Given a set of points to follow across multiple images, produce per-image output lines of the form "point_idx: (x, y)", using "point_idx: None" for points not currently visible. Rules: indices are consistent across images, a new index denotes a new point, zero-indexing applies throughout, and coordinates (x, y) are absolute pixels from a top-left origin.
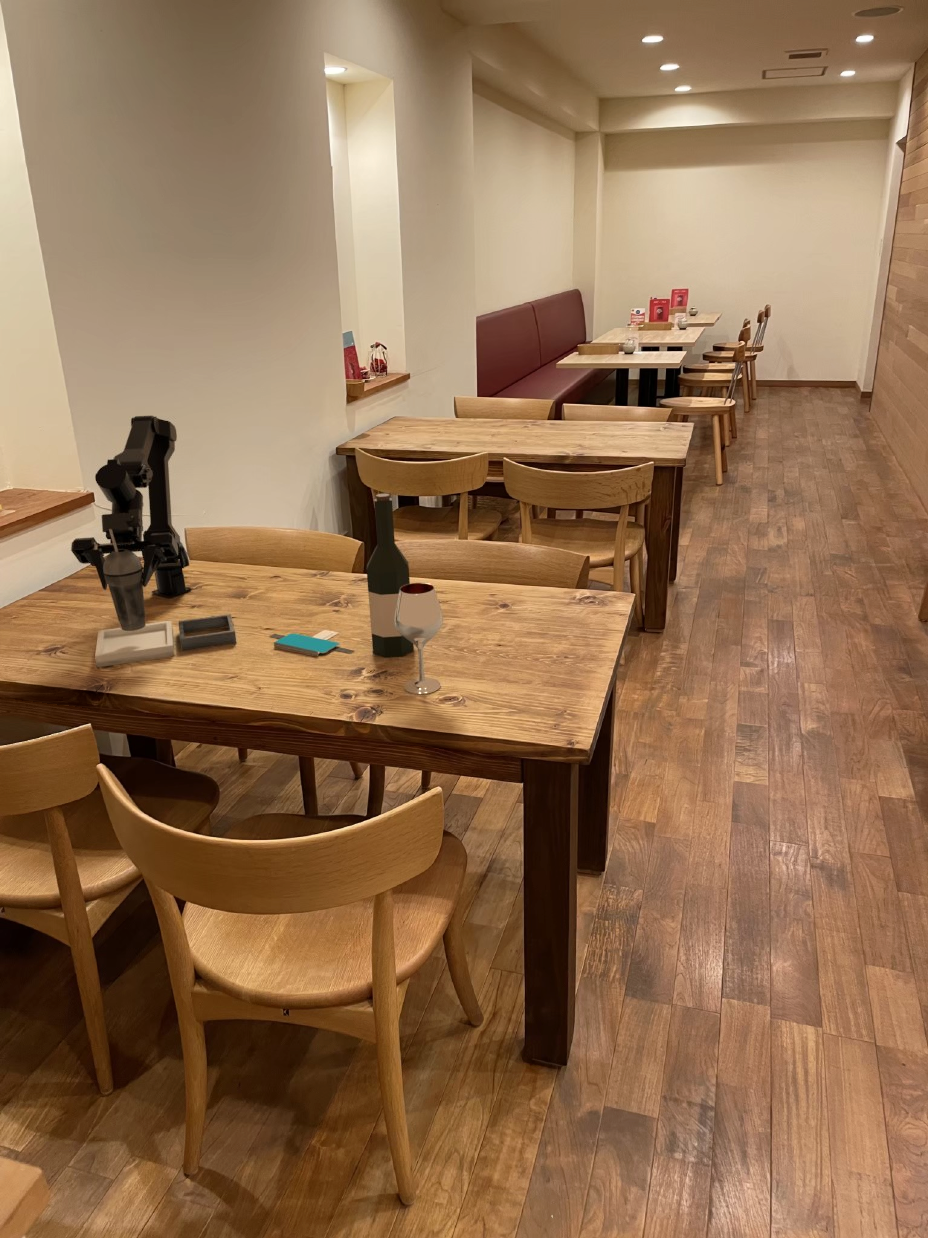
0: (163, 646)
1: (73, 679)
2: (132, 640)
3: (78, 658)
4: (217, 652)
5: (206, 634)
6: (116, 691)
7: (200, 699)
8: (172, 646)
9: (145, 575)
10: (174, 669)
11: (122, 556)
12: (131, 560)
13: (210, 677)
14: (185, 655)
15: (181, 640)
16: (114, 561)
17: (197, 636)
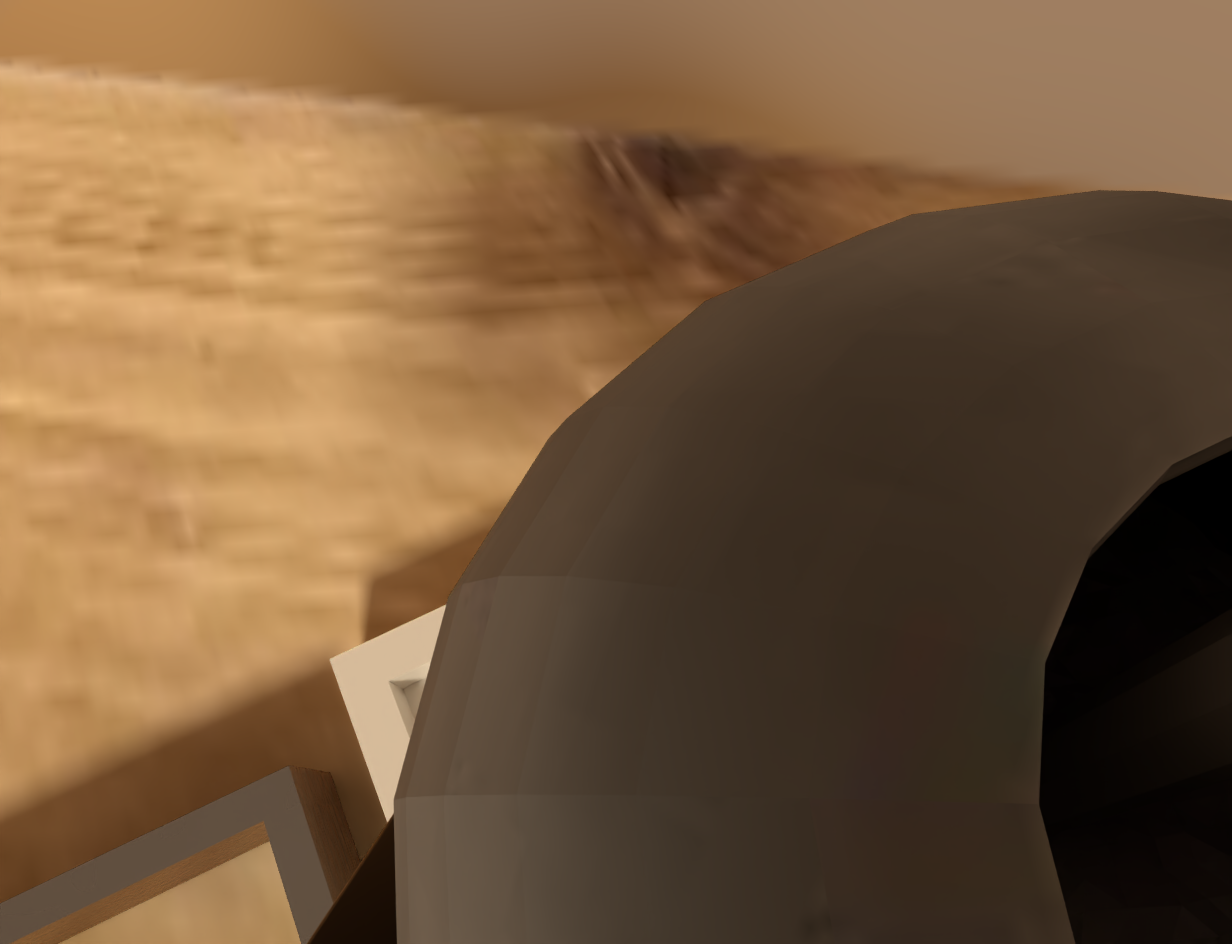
0: (403, 624)
1: None
2: None
3: None
4: (27, 765)
5: (59, 903)
6: (539, 135)
7: (19, 97)
8: (337, 657)
9: (372, 875)
10: (284, 441)
11: (849, 344)
12: (503, 551)
13: (9, 345)
14: (276, 690)
15: (282, 770)
16: (1063, 197)
17: (137, 846)
